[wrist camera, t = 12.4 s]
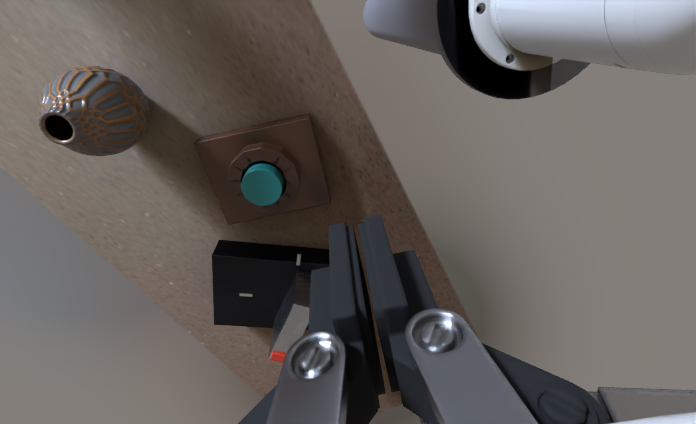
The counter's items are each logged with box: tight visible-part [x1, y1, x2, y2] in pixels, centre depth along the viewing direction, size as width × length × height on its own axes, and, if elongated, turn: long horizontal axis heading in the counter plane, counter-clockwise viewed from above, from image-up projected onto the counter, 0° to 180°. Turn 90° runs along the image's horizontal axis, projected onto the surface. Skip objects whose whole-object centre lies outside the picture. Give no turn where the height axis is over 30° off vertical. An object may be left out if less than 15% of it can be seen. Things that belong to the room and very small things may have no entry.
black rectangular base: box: [212, 240, 330, 330], centre depth 41 cm, size 15×12×3 cm
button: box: [241, 163, 284, 206], centre depth 32 cm, size 4×4×2 cm
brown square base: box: [194, 114, 331, 224], centre depth 34 cm, size 11×9×4 cm
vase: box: [39, 66, 150, 156], centre depth 28 cm, size 7×7×9 cm
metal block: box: [268, 269, 311, 363], centre depth 38 cm, size 8×2×6 cm, turn 156°
